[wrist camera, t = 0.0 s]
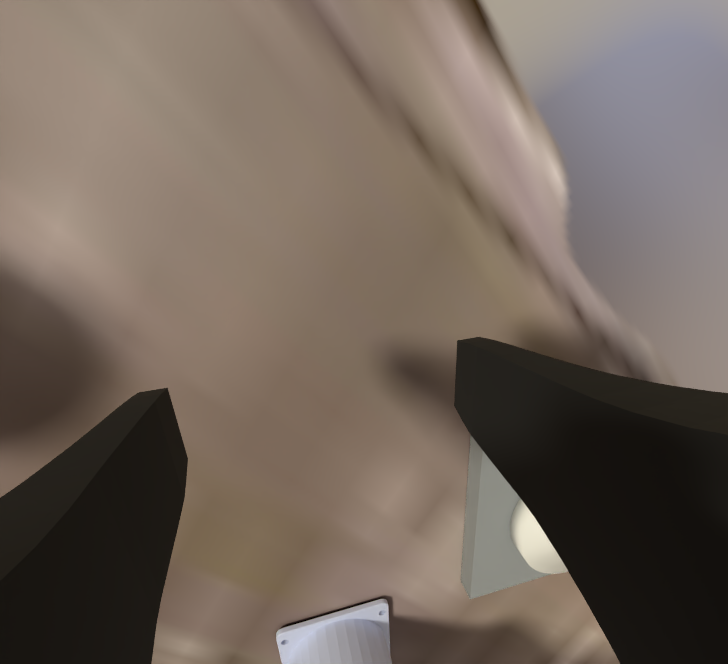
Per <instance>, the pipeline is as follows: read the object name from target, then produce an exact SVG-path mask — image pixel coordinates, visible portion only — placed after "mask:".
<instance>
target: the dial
mask: <svg viewBox="0 0 728 664" xmlns="http://www.w3.org/2000/svg"><path fill="white" fill-rule="evenodd" d="M510 536H511V539H512V541H513V543H514V544H515V546H516V547H517V549H518V550H519V552H520V553H521V555H522V556H523V558H524V559H525V561H526V562H527V563H528V565H529V566H530V567H532V568H533V569H534V570H536V571H539V572H542V573H547V574H558V573H565V572H568V570H567V568H566V567H565V565H564V563H563V562H562V560H561V558H560V557H559V555H558V553H557V552H556V550H555V549H554V547H553V545H552V544H551V542H550V541H549V539H548V538H547V536H546V534H545V533H544V531H543V530H542V528H541V527H540V525H539V523H538V522H537V520H536V519H535V517H534V516H533V515H532V513H531V512H530V510H529V509H528V508H527V506H526V505H525V504H524V502H523V501H522V500H521V498H520V500H519V501H518V503H517V505H516V507H515V509H514V511H513V514H512V517H511V521H510Z"/></svg>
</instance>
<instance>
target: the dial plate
mask: <svg viewBox="0 0 728 664" xmlns="http://www.w3.org/2000/svg"><path fill="white" fill-rule="evenodd" d="M519 500H520V497H519V496H518V495H517V493H516V492H515V491H514V490H513V488H512V487H511V486H510V484H509V483H508V482H507V481H506V479H505V478H504V477H503V476H502V474H501V473H500V472H499V471H498V469H497V468H496V467H495V466H494V464H493V463H492V462H491V460H490V459H489V458H488V457H487V455H486V454H485V453H484V451H483V450H482V449H481V448H480V446H479V445H478V444H477V442H476V441H475V440H474V438H473V437H472V436H471V437H470V451H469V466H468V481H467V495H466V510H465V525H464V539H463V554H462V568H461V582H462V584H463V586H464V588H465V590H466V592H467V594H468V596H469V598H470V599H473V598H476V597H479V596H483V595H486V594H489V593H492V592H495V591H499V590H502V589H505V588H508V587H512V586H515V585H518V584H521V583H524V582H528V581H531V580H534V579H537V578H540V577H544V576H547V575H550V574H547V573H542V572H539V571H536V570H534V569H533V568H532V567H530V566H529V565H528V563H527V562H526V561H525V559H524V558H523V556H522V555H521V553H520V552H519V550H518V549H517V547H516V546H515V544H514V543H513V541H512V539H511V536H510V521H511V517H512V514H513V511H514V509H515V507H516V505H517V503H518V501H519Z"/></svg>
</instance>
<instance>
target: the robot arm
mask: <svg viewBox="0 0 728 664" xmlns="http://www.w3.org/2000/svg"><path fill="white" fill-rule="evenodd" d="M454 406H455V408H456V410H457V411H458V413H459V415H460V417H461V419H462V421H463V422H464V424H465V426H466V427H467V429H468V431H469V432H470V434H471V436H472V437H473V438H474V440H475V441H476V442H477V444H478V445H479V446H480V448H481V449H482V450H483V451H484V453H485V454H486V455H487V457H488V458H489V459H490V460H491V462H492V463H493V464H494V466H495V467H496V468H497V469H498V471H499V472H500V473H501V474H502V476H503V477H504V478H505V479H506V481H507V482H508V483H509V484H510V486H511V487H512V488H513V490H514V491H515V492H516V493H517V495H518V496H519V497H520V498H521V500H522V501H523V502H524V504H525V505H526V506H527V508H528V509H529V510H530V512H531V513H532V515H533V516H534V517H535V519H536V520H537V522H538V523H539V525H540V527H541V528H542V530H543V531H544V533H545V534H546V536H547V538H548V539H549V541H550V542H551V544H552V545H553V547H554V549H555V550H556V552H557V553H558V555H559V557H560V558H561V560H562V562H563V563H564V565H565V567H566V568H567V570H568V572H569V573H570V575H571V577H572V578H573V580H574V582H575V583H576V585H577V587H578V588H579V590H580V592H581V593H582V595H583V597H584V598H585V600H586V602H587V604H588V605H589V607H590V609H591V611H592V613H593V614H594V616H595V618H596V620H597V622H598V623H599V625H600V627H601V629H602V631H603V632H604V634H605V636H606V638H607V639H608V641H609V643H610V645H611V647H612V648H613V650H614V652H615V654H616V656H617V658H618V660H619V662H620V664H728V393H721V392H711V391H705V390H698V389H691V388H683V387H676V386H670V385H664V384H658V383H652V382H647V381H642V380H638V379H633V378H628V377H623V376H618V375H614V374H609V373H605V372H601V371H597V370H593V369H590V368H586V367H582V366H578V365H575V364H571V363H568V362H564V361H561V360H558V359H554V358H551V357H548V356H544V355H541V354H538V353H535V352H532V351H528V350H525V349H522V348H519V347H516V346H512V345H509V344H506V343H502V342H499V341H495V340H491V339H487V338H481V337H476V338H470V339H464V340H458V341H457V360H456V381H455V402H454ZM187 463H188V458H187V454H186V451H185V447H184V444H183V440H182V437H181V433H180V430H179V426H178V423H177V419H176V416H175V412H174V409H173V405H172V402H171V399H170V395H169V392H168V388H164V389H157V390H151V391H145V392H139V393H137V394H136V395H134V396H133V397H131V398H130V399H129V400H127V401H126V402H125V403H123V404H122V405H121V406H120V407H118V408H117V409H116V410H115V411H113V412H112V413H111V414H110V415H109V416H107V417H106V418H105V419H104V420H103V421H101V422H100V423H99V424H98V425H96V426H95V427H94V428H93V429H91V430H90V431H89V432H88V433H87V434H85V435H84V436H83V437H82V438H80V439H79V440H78V441H77V442H75V443H74V444H73V445H72V446H70V447H69V448H68V449H66V450H65V451H64V452H63V453H61V454H60V455H59V456H57V457H56V458H55V459H53V460H52V461H51V462H49V463H48V464H47V465H45V466H44V467H43V468H41V469H40V470H39V471H37V472H36V473H35V474H33V475H32V476H31V477H29V478H28V479H27V480H25V481H24V482H23V483H21V484H20V485H18V486H17V487H15V488H14V489H13V490H11V491H10V492H8V493H7V494H5V495H4V496H2V497H1V498H0V664H151V661H152V654H153V646H154V638H155V631H156V623H157V618H158V613H159V607H160V602H161V597H162V593H163V588H164V584H165V580H166V576H167V571H168V567H169V563H170V559H171V554H172V550H173V546H174V542H175V537H176V533H177V529H178V524H179V520H180V516H181V511H182V507H183V502H184V497H185V487H186V476H187ZM276 639H277V644H278V648H279V653H280V657H281V661H282V664H392V660H391V657H390V632H389V607H388V603H387V600H386V599H379V600H375V601H372V602H368V603H365V604H362V605H358V606H355V607H351V608H348V609H345V610H341V611H338V612H335V613H331V614H328V615H324V616H321V617H318V618H314V619H311V620H307V621H304V622H301V623H297V624H294V625H291V626H287V627H284V628H281V629H279V630H278V631H277V633H276Z"/></svg>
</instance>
